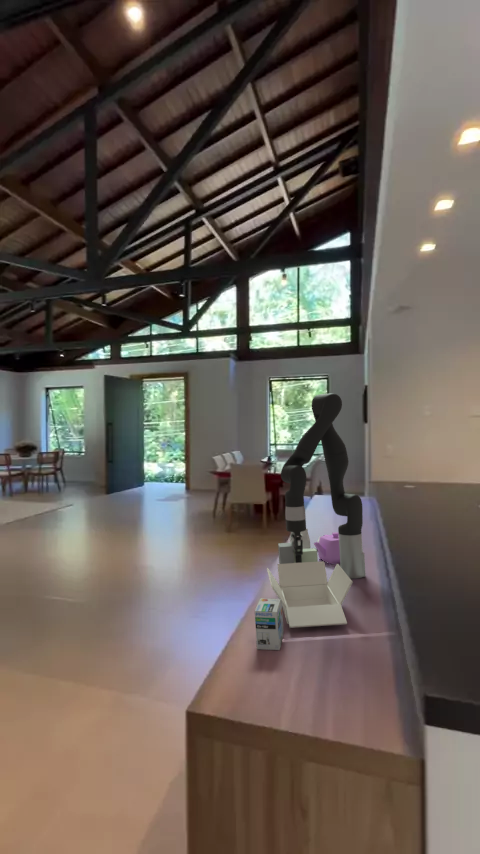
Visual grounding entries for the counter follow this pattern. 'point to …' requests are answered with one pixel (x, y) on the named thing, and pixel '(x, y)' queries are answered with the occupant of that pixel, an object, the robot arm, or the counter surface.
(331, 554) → the teakettle
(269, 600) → the light bulb box
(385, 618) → the counter surface
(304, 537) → the milk carton
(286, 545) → the box
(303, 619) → the carton
